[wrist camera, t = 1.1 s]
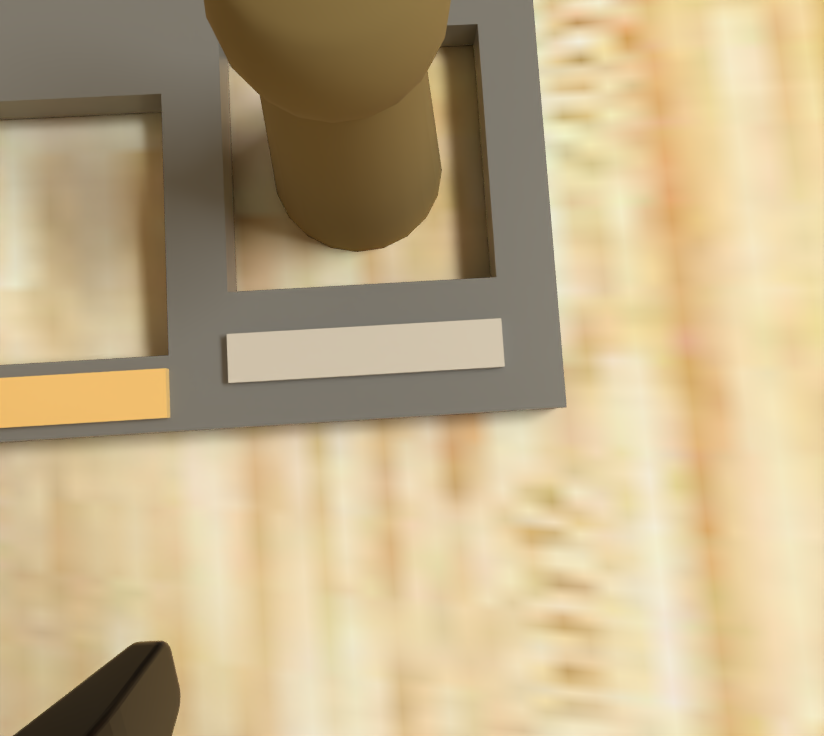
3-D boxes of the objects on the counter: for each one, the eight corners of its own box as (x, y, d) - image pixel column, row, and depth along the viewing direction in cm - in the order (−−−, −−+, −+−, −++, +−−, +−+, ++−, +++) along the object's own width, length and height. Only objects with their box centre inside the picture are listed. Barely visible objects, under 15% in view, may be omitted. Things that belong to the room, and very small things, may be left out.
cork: (305, 68, 22) (216, -268, 12) (462, 118, 22) (524, -171, 11) (250, 221, 22) (102, 21, 11) (412, 273, 22) (424, 124, 11)
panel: (557, 407, 22) (569, 406, 20) (-143, 451, 21) (-184, 453, 19) (522, -22, 23) (530, -52, 21) (-136, 6, 22) (-175, -24, 21)
